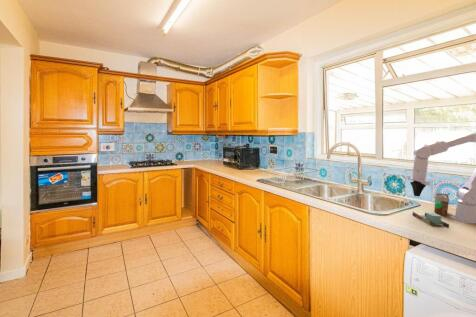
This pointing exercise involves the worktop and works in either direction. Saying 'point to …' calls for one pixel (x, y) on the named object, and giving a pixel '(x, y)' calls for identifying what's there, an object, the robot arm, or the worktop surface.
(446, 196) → the food container
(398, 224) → the worktop surface
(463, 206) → the robot arm
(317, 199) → the worktop surface
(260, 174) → the worktop surface
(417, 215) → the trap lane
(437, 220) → the teal block
